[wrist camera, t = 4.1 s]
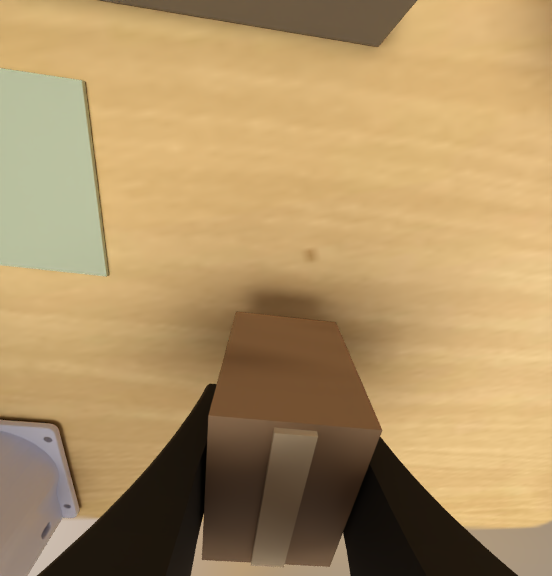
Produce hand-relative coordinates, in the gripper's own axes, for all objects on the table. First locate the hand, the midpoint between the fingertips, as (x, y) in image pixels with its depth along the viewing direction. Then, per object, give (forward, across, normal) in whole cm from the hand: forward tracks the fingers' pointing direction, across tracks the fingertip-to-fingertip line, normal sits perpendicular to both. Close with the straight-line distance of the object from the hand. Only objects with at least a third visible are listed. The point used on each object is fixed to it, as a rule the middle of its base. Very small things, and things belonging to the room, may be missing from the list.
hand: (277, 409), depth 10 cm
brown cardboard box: (+2, 0, 0) cm, 2 cm away
